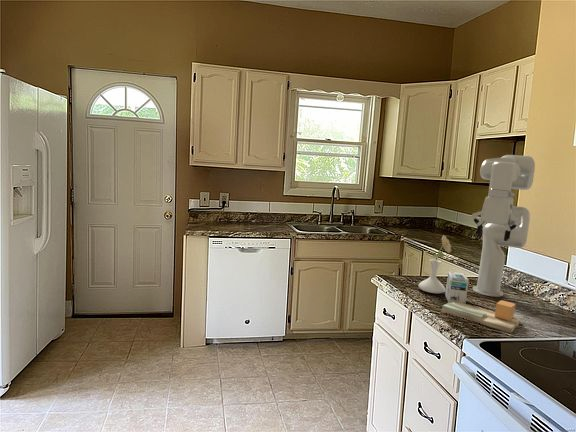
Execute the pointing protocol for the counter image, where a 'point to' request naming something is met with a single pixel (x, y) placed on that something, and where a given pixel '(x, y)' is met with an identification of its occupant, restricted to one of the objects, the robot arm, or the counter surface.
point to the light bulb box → (456, 287)
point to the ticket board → (480, 316)
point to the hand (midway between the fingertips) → (492, 238)
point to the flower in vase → (435, 272)
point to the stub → (504, 310)
